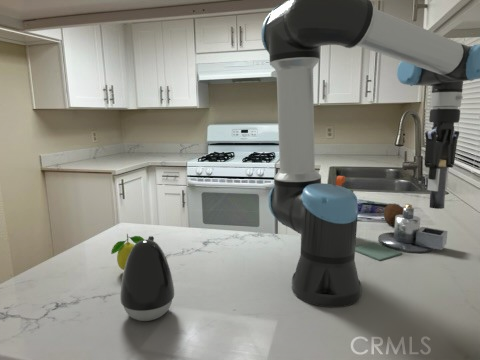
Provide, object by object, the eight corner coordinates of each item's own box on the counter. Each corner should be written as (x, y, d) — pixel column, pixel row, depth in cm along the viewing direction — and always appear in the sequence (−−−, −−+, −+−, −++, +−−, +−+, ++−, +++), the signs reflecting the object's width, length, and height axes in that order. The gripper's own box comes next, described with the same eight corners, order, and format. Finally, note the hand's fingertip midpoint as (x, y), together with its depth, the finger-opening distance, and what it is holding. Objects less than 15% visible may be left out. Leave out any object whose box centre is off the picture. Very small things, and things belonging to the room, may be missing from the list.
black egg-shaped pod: (178, 300, 76) (176, 231, 74) (170, 328, 66) (168, 249, 63) (129, 300, 76) (126, 231, 73) (114, 329, 66) (109, 250, 63)
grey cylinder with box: (441, 250, 102) (445, 212, 100) (390, 239, 111) (393, 205, 109) (446, 243, 108) (450, 208, 106) (397, 234, 116) (400, 201, 114)
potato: (391, 221, 137) (393, 200, 135) (412, 228, 128) (414, 206, 126) (376, 223, 134) (378, 202, 132) (397, 230, 125) (399, 208, 123)
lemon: (147, 268, 92) (146, 231, 91) (135, 278, 87) (133, 238, 85) (125, 265, 94) (123, 228, 93) (111, 274, 89) (109, 235, 87)
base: (413, 256, 101) (414, 253, 101) (367, 240, 114) (367, 237, 114) (445, 246, 109) (446, 243, 109) (398, 232, 123) (399, 229, 122)
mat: (379, 260, 98) (379, 259, 98) (350, 249, 106) (350, 248, 106) (402, 253, 103) (402, 252, 103) (373, 243, 111) (373, 242, 111)
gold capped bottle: (440, 209, 103) (442, 160, 101) (427, 207, 106) (429, 160, 104) (446, 207, 105) (448, 159, 104) (433, 205, 108) (435, 159, 107)
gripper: (441, 107, 94) (432, 194, 98) (474, 108, 102) (465, 189, 106) (414, 108, 100) (407, 190, 104) (448, 109, 109) (440, 185, 113)
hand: (436, 189), depth 105 cm, fingers closed on gold capped bottle, 4 cm apart
